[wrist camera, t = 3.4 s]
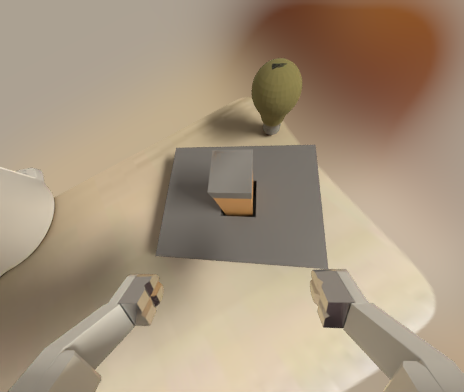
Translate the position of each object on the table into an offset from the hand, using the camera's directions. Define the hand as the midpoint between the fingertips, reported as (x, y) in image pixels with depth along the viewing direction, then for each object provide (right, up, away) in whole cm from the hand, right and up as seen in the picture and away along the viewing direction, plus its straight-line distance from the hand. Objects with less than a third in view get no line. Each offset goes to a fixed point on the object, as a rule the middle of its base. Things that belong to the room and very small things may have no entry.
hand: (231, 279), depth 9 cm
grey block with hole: (+1, +3, +14) cm, 14 cm away
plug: (+1, +3, +14) cm, 14 cm away
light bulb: (+6, +14, +17) cm, 23 cm away
